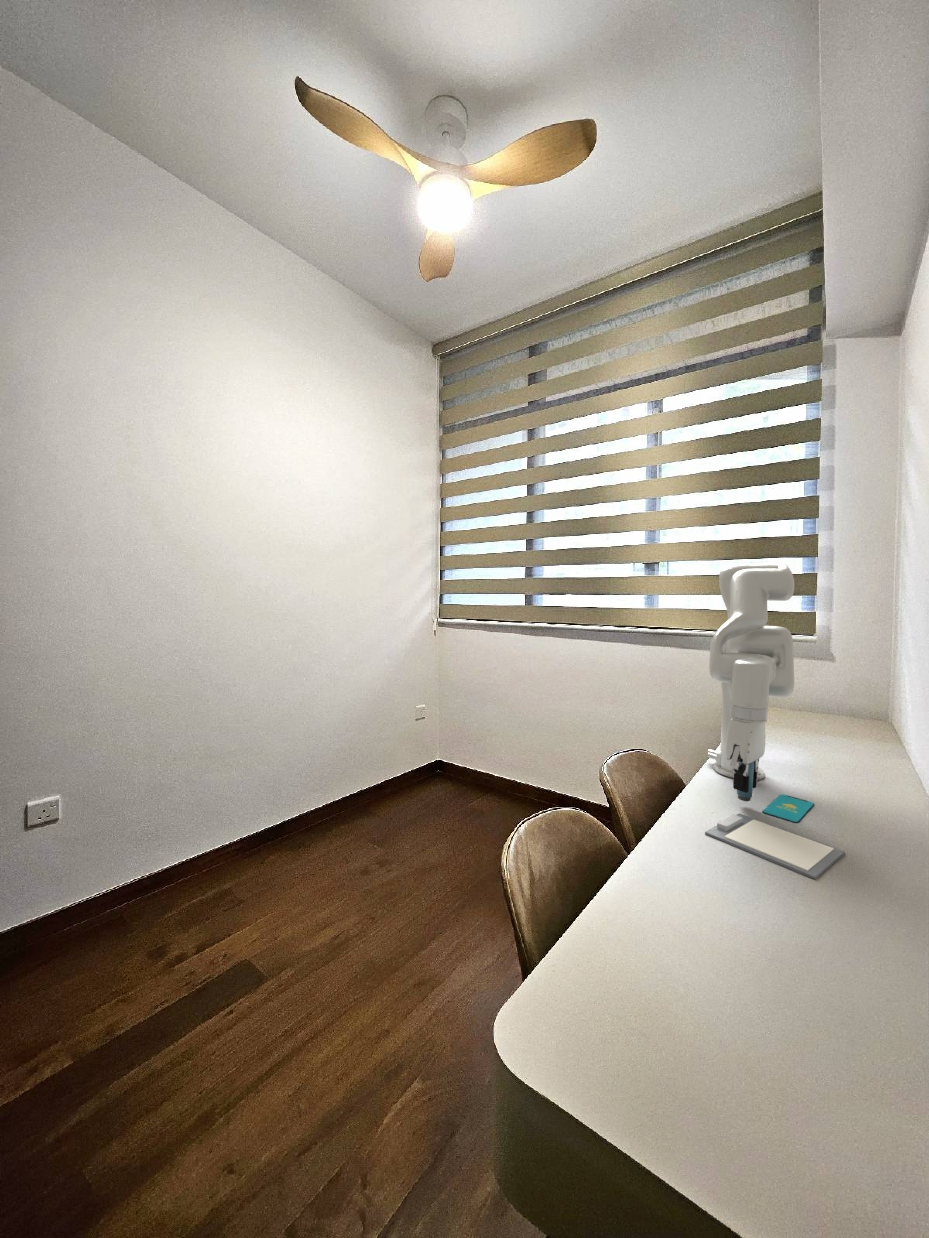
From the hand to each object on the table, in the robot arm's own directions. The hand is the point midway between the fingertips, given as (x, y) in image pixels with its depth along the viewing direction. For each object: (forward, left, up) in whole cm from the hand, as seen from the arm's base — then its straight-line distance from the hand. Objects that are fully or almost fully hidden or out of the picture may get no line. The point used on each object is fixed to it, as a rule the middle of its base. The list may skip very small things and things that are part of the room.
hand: (744, 787), depth 118 cm
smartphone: (+7, +8, -5) cm, 12 cm away
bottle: (0, 0, -3) cm, 3 cm away
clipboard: (+12, -13, -5) cm, 18 cm away
